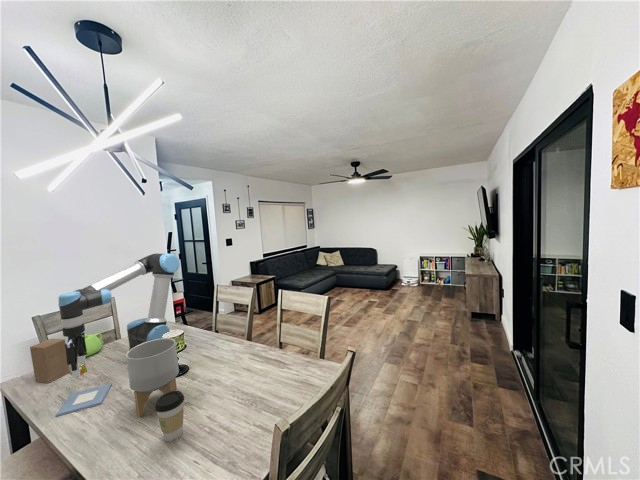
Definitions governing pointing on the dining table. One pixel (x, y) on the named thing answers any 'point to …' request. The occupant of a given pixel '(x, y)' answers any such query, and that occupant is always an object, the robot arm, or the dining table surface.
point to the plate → (84, 399)
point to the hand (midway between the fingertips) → (79, 372)
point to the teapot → (93, 343)
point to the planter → (152, 369)
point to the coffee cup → (170, 414)
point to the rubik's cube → (82, 369)
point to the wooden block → (49, 360)
